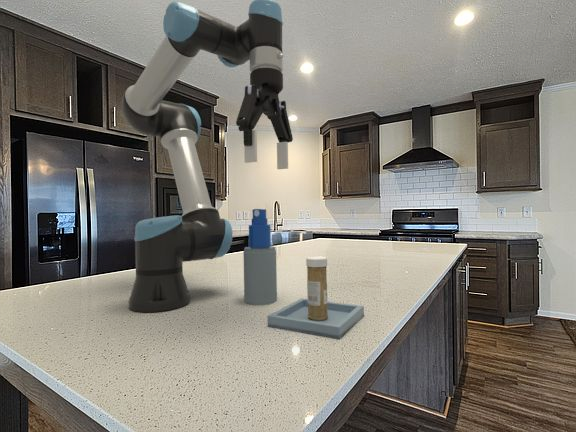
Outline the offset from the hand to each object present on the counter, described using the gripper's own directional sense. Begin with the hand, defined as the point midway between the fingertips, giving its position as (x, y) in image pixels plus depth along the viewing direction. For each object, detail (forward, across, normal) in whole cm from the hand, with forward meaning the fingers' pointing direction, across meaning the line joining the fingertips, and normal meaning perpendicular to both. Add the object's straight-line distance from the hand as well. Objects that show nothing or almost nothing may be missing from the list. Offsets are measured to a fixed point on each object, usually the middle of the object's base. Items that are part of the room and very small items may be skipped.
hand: (268, 165), depth 77 cm
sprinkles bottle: (+34, +2, -11) cm, 36 cm away
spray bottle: (+35, +11, +10) cm, 38 cm away
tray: (+35, +2, -11) cm, 36 cm away
